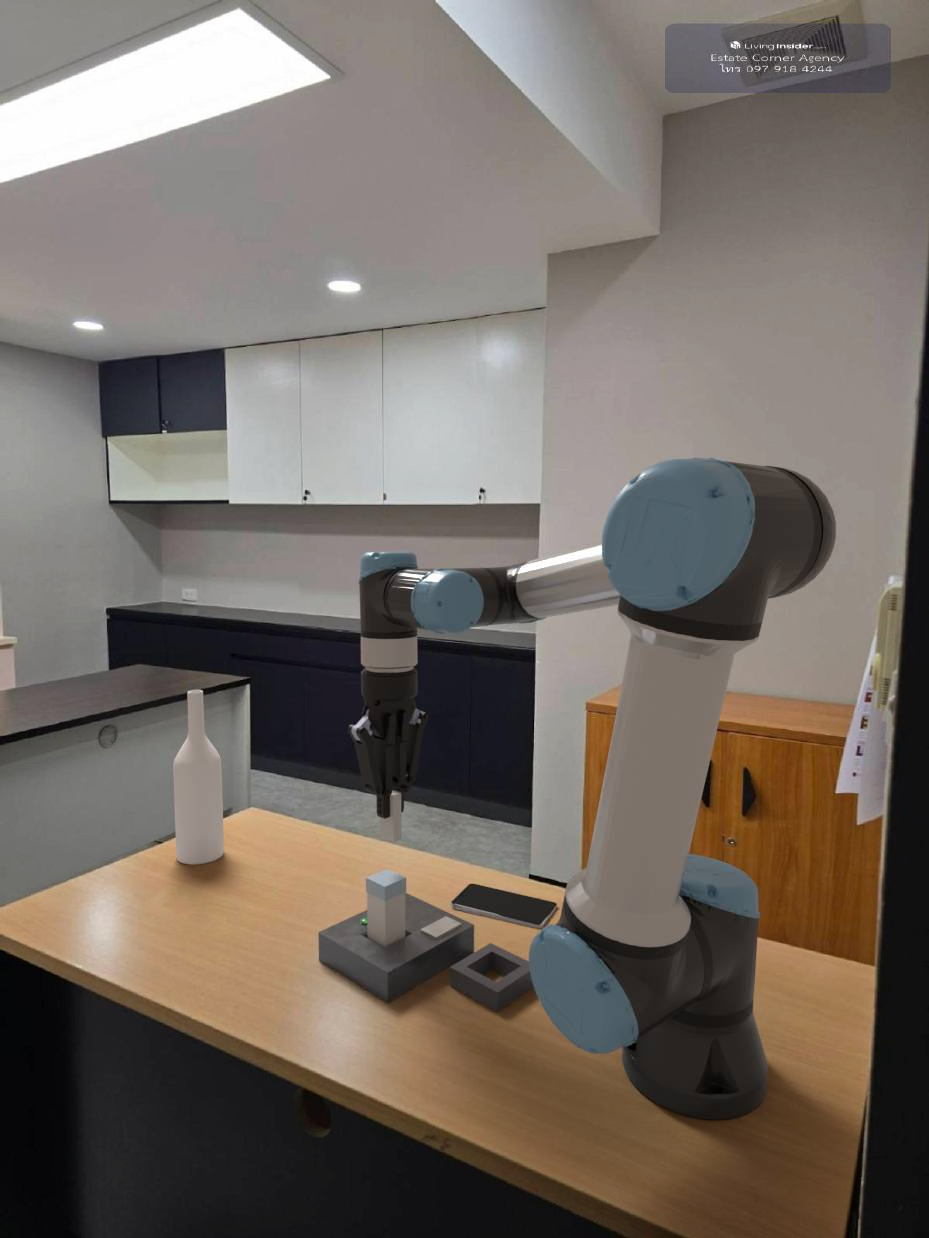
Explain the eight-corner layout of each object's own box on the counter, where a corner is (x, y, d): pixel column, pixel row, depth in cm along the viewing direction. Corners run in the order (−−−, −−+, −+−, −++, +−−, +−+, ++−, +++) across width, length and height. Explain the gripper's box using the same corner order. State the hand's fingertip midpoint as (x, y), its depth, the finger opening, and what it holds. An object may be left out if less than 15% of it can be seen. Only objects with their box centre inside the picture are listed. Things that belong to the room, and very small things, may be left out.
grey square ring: (537, 983, 99) (537, 965, 99) (497, 1011, 94) (497, 992, 93) (490, 960, 105) (490, 942, 104) (449, 985, 99) (449, 966, 99)
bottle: (233, 854, 138) (228, 690, 135) (193, 869, 132) (187, 698, 129) (207, 842, 143) (202, 684, 140) (167, 856, 137) (161, 691, 134)
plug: (406, 961, 104) (406, 877, 103) (385, 973, 101) (384, 886, 100) (387, 951, 107) (387, 868, 105) (366, 962, 104) (366, 877, 103)
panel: (473, 951, 107) (474, 921, 106) (387, 1002, 95) (387, 969, 95) (405, 917, 116) (405, 889, 116) (318, 959, 104) (318, 929, 104)
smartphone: (541, 925, 113) (449, 903, 119) (540, 933, 113) (449, 910, 119) (558, 902, 120) (470, 882, 126) (557, 909, 120) (470, 889, 127)
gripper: (405, 658, 110) (406, 818, 112) (332, 670, 100) (335, 844, 102) (443, 664, 105) (443, 831, 107) (371, 677, 95) (373, 860, 98)
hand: (390, 837), depth 105 cm, fingers closed
